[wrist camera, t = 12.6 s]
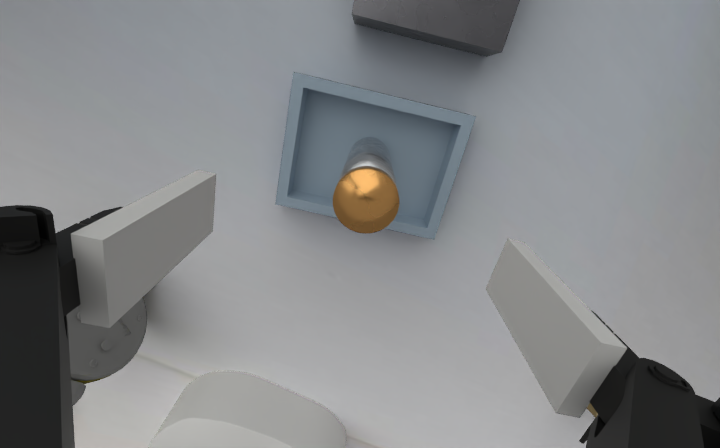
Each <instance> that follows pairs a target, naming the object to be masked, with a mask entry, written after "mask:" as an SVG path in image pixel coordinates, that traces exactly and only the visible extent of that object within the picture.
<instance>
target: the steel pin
mask: <svg viewBox="0 0 720 448" xmlns="http://www.w3.org/2000/svg"><path fill="white" fill-rule="evenodd" d="M333 208H334V212H335V214H336V216H337V218H338V219H339V221H340V222H341V223H342V224H343V225H344V226H346V227H347V228H349V229H350V230H353V231H355V232H359V233H374V232H377V231H380V230H382V229H384V228H385V227H387V226H388V225H389V224H390V223H391V222H392V221H393V220H394V218H395V217H396V215H397V212H398V209H399V194H398V190H397V185H396V181H395V176H394V172H393V167H392V163H391V158H390V154H389V150H388V148H387V147H386V145H385V144H384V143H383V142H382V141H380V140H379V139H376V138H372V137H367V138H363V139H360V140H359V141H357V142H356V143H355V144H354V145H353V147H352V148H351V151H350V153H349V156H348V158H347V161H346V163H345V166H344V168H343V171H342V173H341V176H340V178H339V181H338V183H337V186H336V188H335V191H334V194H333Z"/></svg>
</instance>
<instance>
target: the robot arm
mask: <svg viewBox="0 0 720 448" xmlns="http://www.w3.org/2000/svg"><path fill="white" fill-rule="evenodd" d="M215 185H216V174H215V173H210V172H206V171H201V170H197V171H195V172H193V173H191V174H189V175H187V176H185V177H183V178H181V179H179V180H177V181H175V182H173V183H171V184H169V185H167V186H165V187H163V188H161V189H159V190H157V191H155V192H153V193H151V194H149V195H147V196H145V197H143V198H141V199H139V200H137V201H135V202H133V203H131V204H129V205H127V206H125V207H118V208H113V209H109V210H105V211H102V212H100V213H98V214H95V215H93V216H91V217H90V219H89V218H87V219H85V220H83V221H81V222H80V223H79V224H74V225H72V226H70V227H68V228H66V229H64V230H62V231H60V232H58V233H56V234H55V227H54V220H53V214H52V213H51V211H50V210H47V209H45V208H42V207H36V206H22V205H15V206H4V207H0V448H75V443H74V425H73V407H72V388H71V370H70V352H69V333H68V321H67V314H68V313H70V312H71V311H72V310H74V309H75V308H76V307H78V306H79V309H80V317H81V323H85V324H90V325H95V326H101V327H106V328H110V327H111V326H112V325H114V324H115V323H116V322H117V321H118V320H119V319H120V318H121V317H122V316H123V315H124V314H125V313H126V312H127V311H128V310H130V309H131V308H132V307H133V306H134V305H135V304H136V303H137V302H138V301H139V300H140V299H141V298H142V297H143V296H144V295H145V294H147V293H148V292H149V291H150V290H151V289H152V288H153V287H154V286H155V285H156V284H157V283H158V282H159V281H160V280H161V279H162V278H164V277H165V276H166V275H167V274H168V273H169V272H170V271H171V270H172V269H173V268H174V267H175V266H176V265H177V264H178V263H180V262H181V261H182V260H183V259H184V258H185V257H186V256H187V255H188V254H189V253H190V252H191V251H192V250H193V249H194V248H195V247H197V246H198V245H199V244H200V243H201V242H202V241H203V240H204V239H205V238H206V237H207V236H208V235H209V234H210V233H211V232H213V218H214V202H215ZM486 290H487V292H488V294H489V296H490V297H491V299H492V301H493V303H494V305H495V306H496V308H497V310H498V312H499V313H500V315H501V317H502V319H503V320H504V322H505V324H506V326H507V328H508V329H509V331H510V333H511V335H512V336H513V338H514V340H515V342H516V343H517V345H518V347H519V349H520V351H521V352H522V354H523V356H524V358H525V359H526V361H527V363H528V365H529V366H530V368H531V370H532V372H533V373H534V375H535V377H536V379H537V381H538V382H539V384H540V386H541V388H542V389H543V391H544V393H545V395H546V396H547V398H548V400H549V402H550V404H551V405H552V407H553V409H554V411H555V412H556V413H558V414H563V415H568V416H574V417H579V418H580V417H581V415H582V414H583V412H584V411H585V409H586V408H587V407H588V405H589V404H590V403H591V405H592V406H593V408H594V409H595V411H596V412H597V413H598V415H597V417H596V418H595V419H594V421H593V422H592V424H591V425H590V426H589V428H588V429H587V431H586V432H585V433H584V435H583V436H582V438H581V439H580V440H579V441H580V442H581V443H583V444H584V442H585V441H586V440H587V444H586V448H720V398H719V399H718V400H717V401H716V402H713V401H710V400H708V399H705V398H703V397H700V396H698V395H695V392H694V390H693V388H692V387H691V386H690V384H689V383H688V382H687V381H686V380H685V379H683V378H682V377H681V376H680V375H678V374H677V373H676V372H674V371H673V370H671V369H669V368H668V367H666V366H664V365H662V364H660V363H658V362H655V361H653V360H649V359H646V358H639V357H638V356H637V355H636V354H635V353H634V352H633V351H632V350H631V349H630V348H629V347H628V346H627V345H626V344H625V343H624V342H623V341H622V340H621V339H620V338H619V337H618V336H617V335H616V334H613V331H612V330H611V329H610V328H609V327H608V326H607V325H605V323H604V322H603V321H602V320H601V319H600V318H599V317H598V316H597V315H596V314H595V313H594V312H593V311H591V310H590V309H589V308H588V307H587V306H586V305H585V304H584V303H583V302H582V301H581V300H580V299H579V298H578V297H577V296H576V295H575V294H574V293H573V292H572V291H571V290H570V289H569V288H568V287H567V286H566V285H565V284H564V283H563V282H562V281H561V280H560V279H559V278H558V277H557V275H556V274H555V273H554V272H553V271H552V270H551V269H550V268H549V267H548V266H547V265H546V264H545V263H544V262H543V261H542V260H541V259H540V258H539V257H538V256H537V255H536V254H535V253H534V252H533V251H532V250H531V249H530V248H529V247H528V246H527V245H526V244H525V243H524V242H522V241H517V240H513V239H507V241H506V244H505V246H504V248H503V250H502V253H501V255H500V257H499V260H498V262H497V264H496V266H495V269H494V271H493V273H492V276H491V278H490V280H489V282H488V285H487V287H486Z"/></svg>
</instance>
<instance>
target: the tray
mask: <svg viewBox="0 0 720 448" xmlns="http://www.w3.org/2000/svg"><path fill="white" fill-rule="evenodd" d="M475 118H476V116H472V115H468V114H465V113H460V112H456V111H452V110H448V109H444V108H440V107H436V106H432V105H428V104H423V103H419V102H415V101H411V100H407V99H403V98H399V97H395V96H391V95H386V94H382V93H378V92H374V91H370V90H366V89H362V88H358V87H354V86H350V85H345V84H341V83H337V82H333V81H329V80H325V79H321V78H317V77H313V76H308V75H304V74H300V73H295V72H293V79H292V87H291V94H290V101H289V108H288V116H287V123H286V130H285V137H284V145H283V152H282V159H281V167H280V174H279V181H278V188H277V196H276V203H275V204H277V205H282V206H286V207H290V208H295V209H299V210H304V211H308V212H313V213H317V214H322V215H326V216H331V217H335V218H337V216H336V214H335V212H334V208H333V194H334V191H335V188H336V186H337V183H338V181H339V178H340V176H341V173H342V171H343V168H344V166H345V163H346V161H347V158H348V156H349V153H350V151H351V148H352V147H353V145H354V144H355V143H356V142H357V141H359V140H360V139H363V138H367V137H372V138H376V139H379V140H380V141H382V142H383V143H384V144H385V145H386V147H387V148H388V150H389V154H390V158H391V163H392V167H393V172H394V176H395V181H396V185H397V190H398V194H399V209H398V212H397V215H396V217H395V218H394V220H393V221H392V222H391V223H390V224H389V225H388V226H387V227H385V228H384V229H388V230H393V231H397V232H402V233H406V234H411V235H415V236H420V237H424V238H429V239H433V240H434V239H435V236H436V233H437V230H438V227H439V224H440V221H441V218H442V215H443V212H444V209H445V206H446V203H447V200H448V197H449V195H450V192H451V189H452V186H453V183H454V180H455V177H456V174H457V171H458V168H459V165H460V162H461V159H462V156H463V153H464V151H465V148H466V145H467V142H468V139H469V136H470V133H471V130H472V127H473V124H474V121H475Z"/></svg>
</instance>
